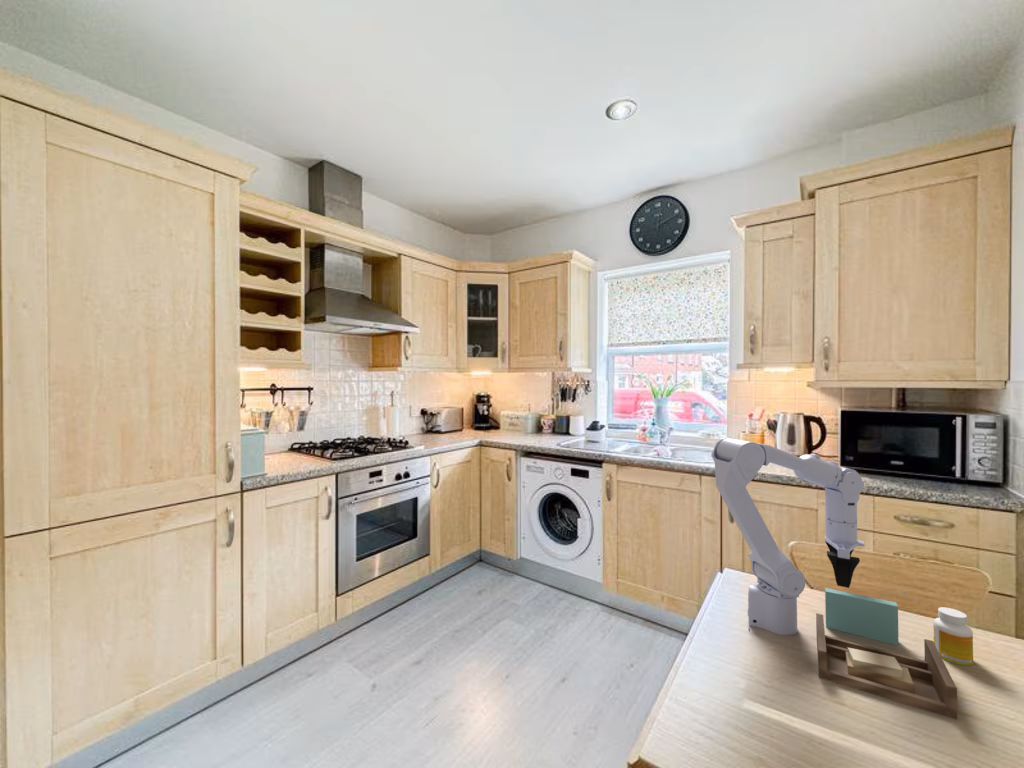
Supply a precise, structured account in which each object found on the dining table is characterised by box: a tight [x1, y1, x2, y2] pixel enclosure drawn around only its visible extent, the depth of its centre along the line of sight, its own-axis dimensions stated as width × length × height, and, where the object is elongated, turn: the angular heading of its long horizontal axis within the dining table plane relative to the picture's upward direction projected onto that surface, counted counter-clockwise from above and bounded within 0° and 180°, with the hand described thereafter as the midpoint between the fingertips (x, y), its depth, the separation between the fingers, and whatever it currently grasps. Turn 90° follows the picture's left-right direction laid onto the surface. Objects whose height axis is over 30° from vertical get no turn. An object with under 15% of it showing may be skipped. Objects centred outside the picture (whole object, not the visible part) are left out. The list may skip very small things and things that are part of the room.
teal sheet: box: [824, 587, 900, 646], centre depth 91 cm, size 12×2×9 cm, turn 56°
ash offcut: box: [848, 648, 903, 679], centre depth 79 cm, size 7×4×2 cm, turn 64°
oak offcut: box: [846, 652, 914, 693], centre depth 78 cm, size 9×5×2 cm, turn 56°
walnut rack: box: [815, 613, 958, 721], centre depth 79 cm, size 18×15×6 cm
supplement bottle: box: [933, 606, 974, 667], centre depth 83 cm, size 5×5×10 cm
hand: (841, 579), depth 96 cm, fingers open, 7 cm apart
